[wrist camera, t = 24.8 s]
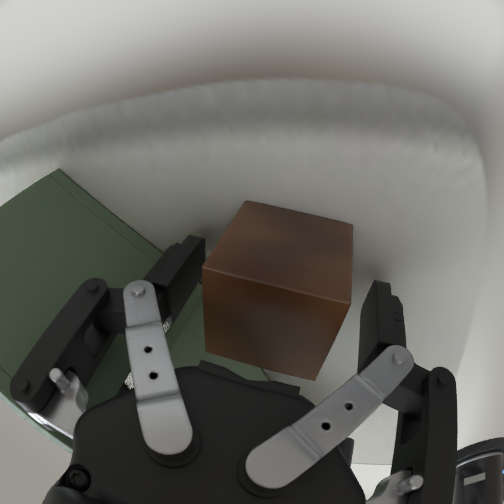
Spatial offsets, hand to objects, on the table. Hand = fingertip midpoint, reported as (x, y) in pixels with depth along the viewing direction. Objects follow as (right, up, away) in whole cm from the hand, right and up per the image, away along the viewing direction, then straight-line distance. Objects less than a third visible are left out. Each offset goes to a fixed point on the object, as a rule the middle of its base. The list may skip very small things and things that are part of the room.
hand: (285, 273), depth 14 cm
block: (0, +1, +1) cm, 1 cm away
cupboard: (-14, -2, +8) cm, 16 cm away
